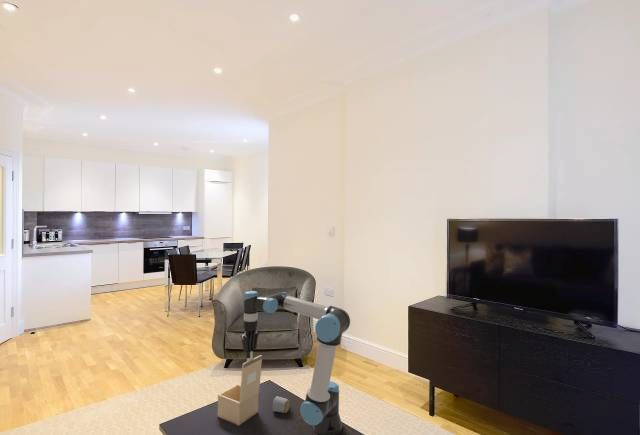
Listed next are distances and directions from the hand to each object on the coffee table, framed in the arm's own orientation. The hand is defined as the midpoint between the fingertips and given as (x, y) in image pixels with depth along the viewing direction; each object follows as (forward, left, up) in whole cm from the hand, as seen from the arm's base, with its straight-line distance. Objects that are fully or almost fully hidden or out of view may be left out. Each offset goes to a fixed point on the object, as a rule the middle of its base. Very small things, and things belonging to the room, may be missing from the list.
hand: (249, 363), depth 192 cm
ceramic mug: (-9, -17, -31) cm, 36 cm away
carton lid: (-1, 0, -8) cm, 8 cm away
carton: (+8, 0, -30) cm, 31 cm away
